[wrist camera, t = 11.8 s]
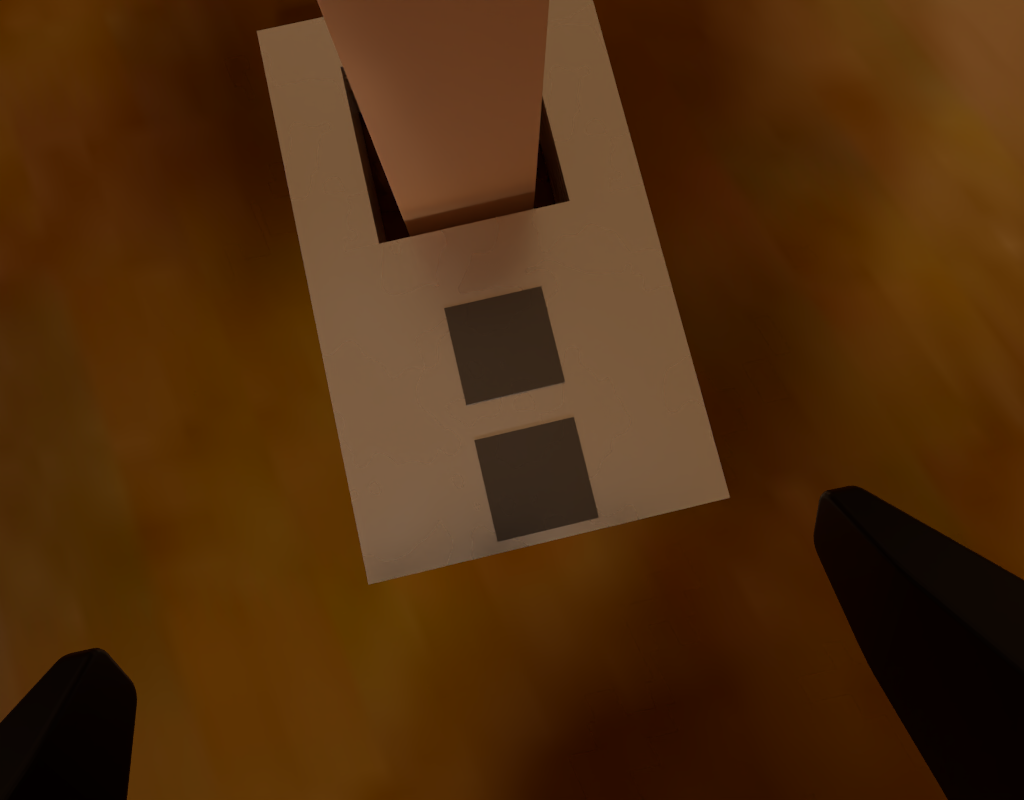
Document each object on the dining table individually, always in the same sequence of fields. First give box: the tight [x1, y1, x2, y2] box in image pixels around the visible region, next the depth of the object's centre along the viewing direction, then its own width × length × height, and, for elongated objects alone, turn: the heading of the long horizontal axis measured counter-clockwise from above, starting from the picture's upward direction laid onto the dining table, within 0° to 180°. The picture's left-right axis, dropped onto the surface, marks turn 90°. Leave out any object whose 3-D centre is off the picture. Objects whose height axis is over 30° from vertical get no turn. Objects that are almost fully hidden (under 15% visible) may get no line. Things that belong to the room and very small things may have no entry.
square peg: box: [317, 0, 549, 237], centre depth 16 cm, size 4×4×14 cm
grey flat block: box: [257, 0, 730, 584], centre depth 21 cm, size 16×10×3 cm, turn 13°
